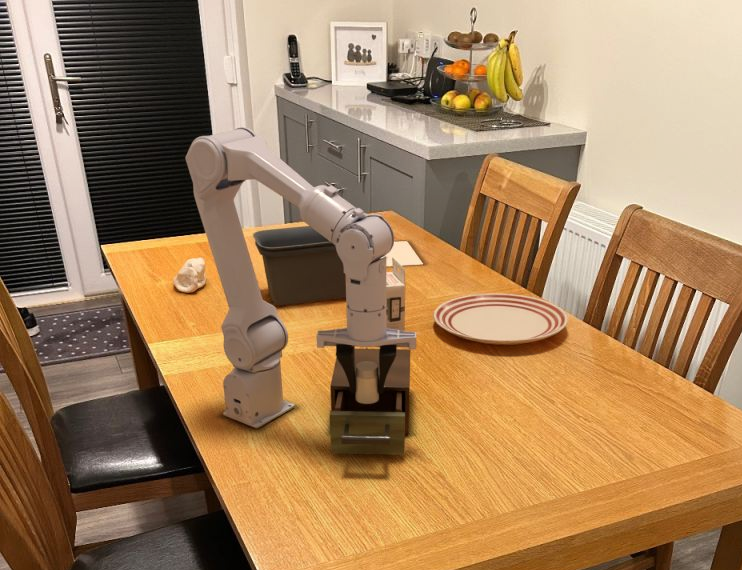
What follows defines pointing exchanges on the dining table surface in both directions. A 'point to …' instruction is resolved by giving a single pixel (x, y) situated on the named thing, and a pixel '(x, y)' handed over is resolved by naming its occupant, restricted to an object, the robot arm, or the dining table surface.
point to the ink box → (395, 297)
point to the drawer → (368, 424)
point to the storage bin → (300, 265)
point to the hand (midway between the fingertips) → (367, 390)
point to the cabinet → (395, 378)
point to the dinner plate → (500, 318)
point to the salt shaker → (366, 382)
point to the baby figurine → (191, 275)
